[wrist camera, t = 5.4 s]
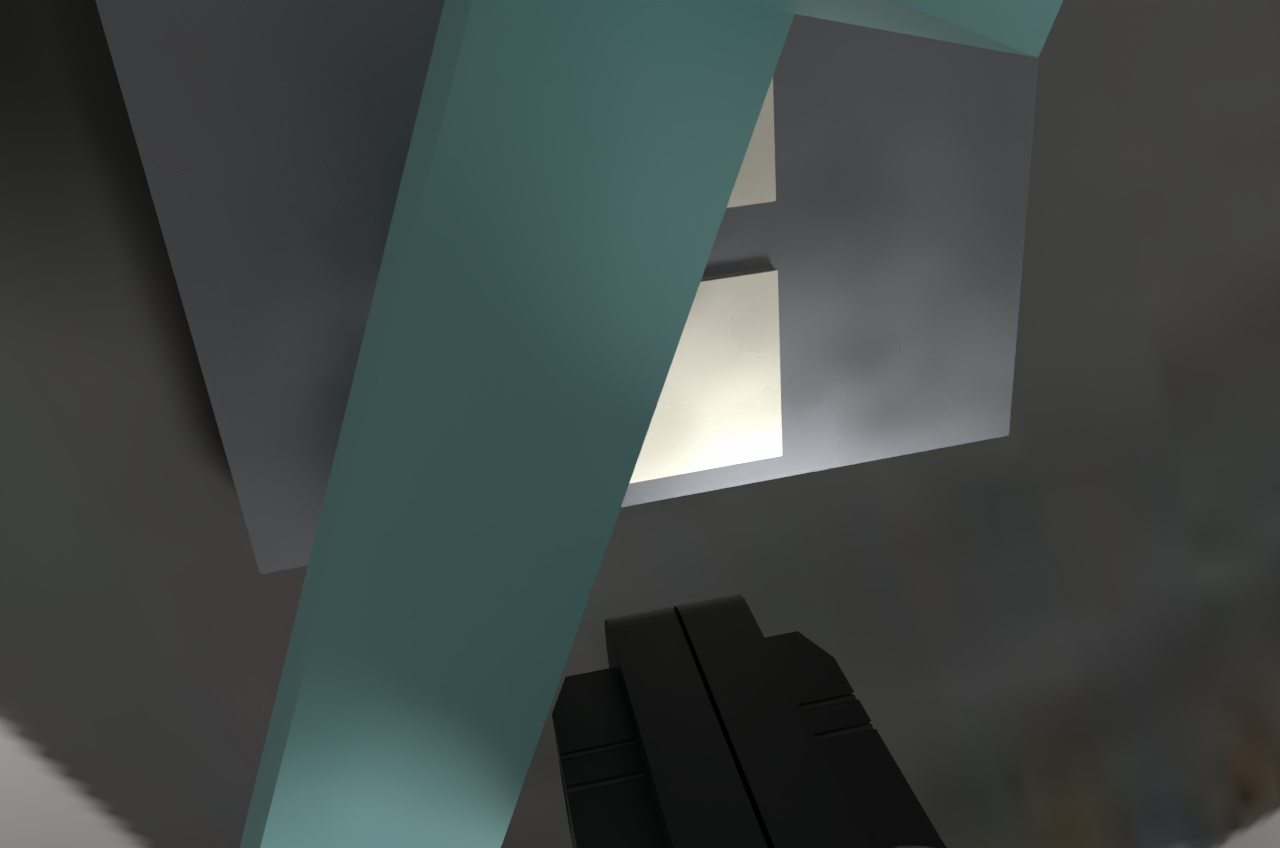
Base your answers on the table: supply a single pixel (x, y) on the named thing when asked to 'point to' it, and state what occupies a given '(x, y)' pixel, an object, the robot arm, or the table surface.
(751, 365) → the plate
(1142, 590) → the table surface
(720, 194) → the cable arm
